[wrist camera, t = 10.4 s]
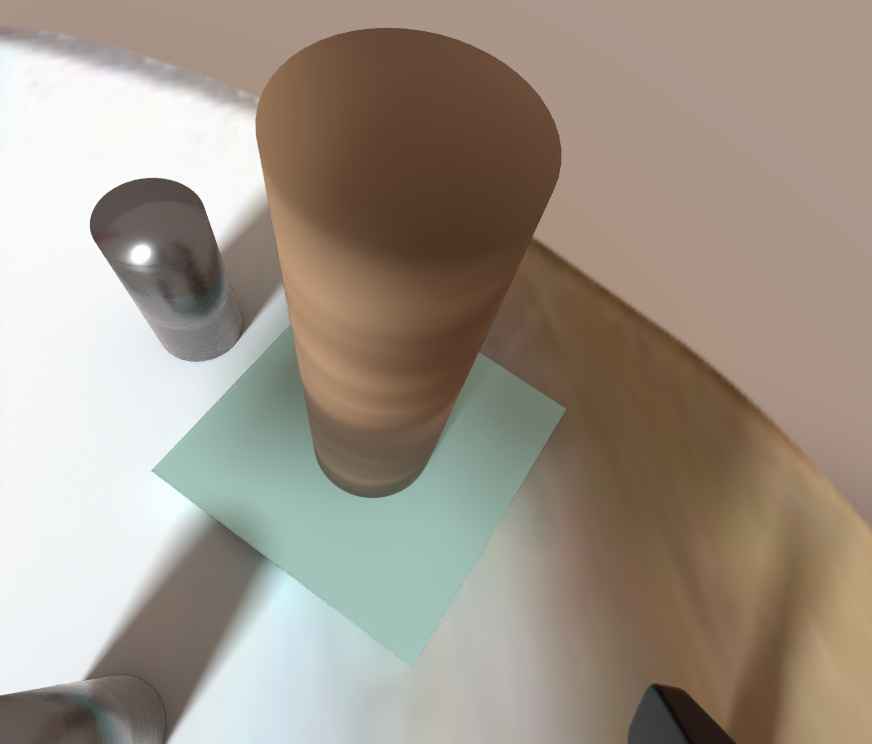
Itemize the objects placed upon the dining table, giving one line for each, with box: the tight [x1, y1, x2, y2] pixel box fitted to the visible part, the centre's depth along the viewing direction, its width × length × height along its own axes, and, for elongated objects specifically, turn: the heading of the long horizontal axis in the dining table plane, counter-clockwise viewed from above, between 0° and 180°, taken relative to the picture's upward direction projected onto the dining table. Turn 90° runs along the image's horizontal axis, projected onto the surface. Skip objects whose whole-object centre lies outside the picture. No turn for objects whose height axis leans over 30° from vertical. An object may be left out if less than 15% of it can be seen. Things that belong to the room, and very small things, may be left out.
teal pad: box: [152, 325, 566, 667], centre depth 19 cm, size 10×10×1 cm
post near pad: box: [90, 178, 243, 362], centre depth 18 cm, size 3×3×6 cm
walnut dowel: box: [256, 28, 561, 498], centre depth 13 cm, size 4×4×13 cm
